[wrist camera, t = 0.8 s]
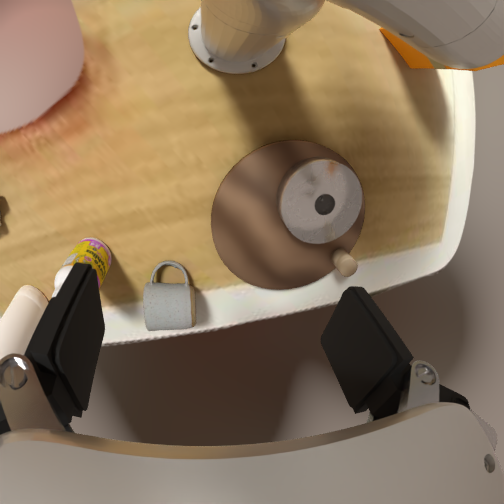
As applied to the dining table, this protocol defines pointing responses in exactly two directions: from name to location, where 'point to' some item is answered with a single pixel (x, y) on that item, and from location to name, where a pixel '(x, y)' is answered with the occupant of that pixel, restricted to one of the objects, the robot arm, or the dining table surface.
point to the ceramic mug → (169, 303)
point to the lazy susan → (274, 222)
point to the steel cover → (319, 199)
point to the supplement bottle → (86, 260)
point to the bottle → (21, 320)
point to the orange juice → (422, 61)
